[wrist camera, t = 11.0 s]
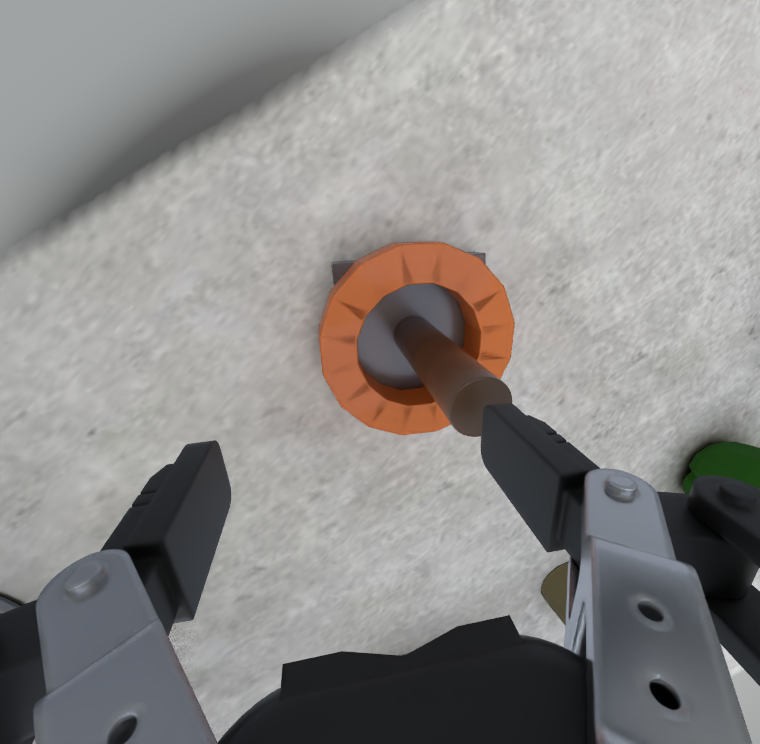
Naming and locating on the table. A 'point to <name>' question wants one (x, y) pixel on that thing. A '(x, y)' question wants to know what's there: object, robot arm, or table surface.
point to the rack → (427, 351)
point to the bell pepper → (726, 463)
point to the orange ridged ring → (383, 276)
